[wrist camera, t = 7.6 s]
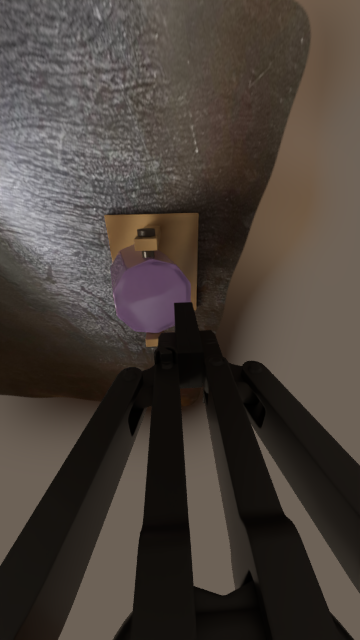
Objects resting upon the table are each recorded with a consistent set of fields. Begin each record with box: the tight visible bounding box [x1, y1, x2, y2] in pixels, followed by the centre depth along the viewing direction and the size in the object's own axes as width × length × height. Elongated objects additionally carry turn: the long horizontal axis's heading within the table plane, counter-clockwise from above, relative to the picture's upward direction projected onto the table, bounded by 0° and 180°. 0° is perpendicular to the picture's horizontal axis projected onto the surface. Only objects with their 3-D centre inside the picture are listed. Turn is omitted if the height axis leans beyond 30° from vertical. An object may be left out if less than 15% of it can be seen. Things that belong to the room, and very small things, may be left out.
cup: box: [111, 244, 191, 333], centre depth 24 cm, size 8×9×9 cm
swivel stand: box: [104, 213, 199, 347], centre depth 26 cm, size 12×14×12 cm
